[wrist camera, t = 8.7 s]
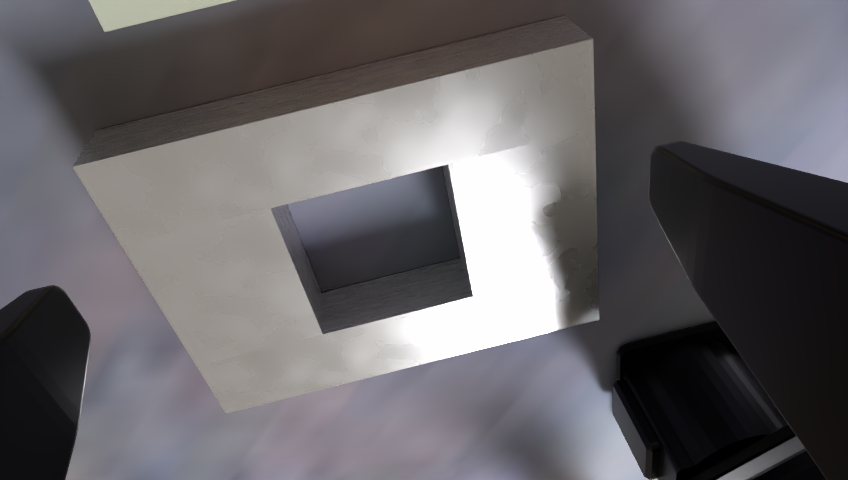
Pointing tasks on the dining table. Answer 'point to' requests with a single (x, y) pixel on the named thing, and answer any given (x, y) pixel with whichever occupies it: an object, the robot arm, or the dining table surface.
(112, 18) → the pad
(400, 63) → the square hole plate
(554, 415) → the dining table surface
